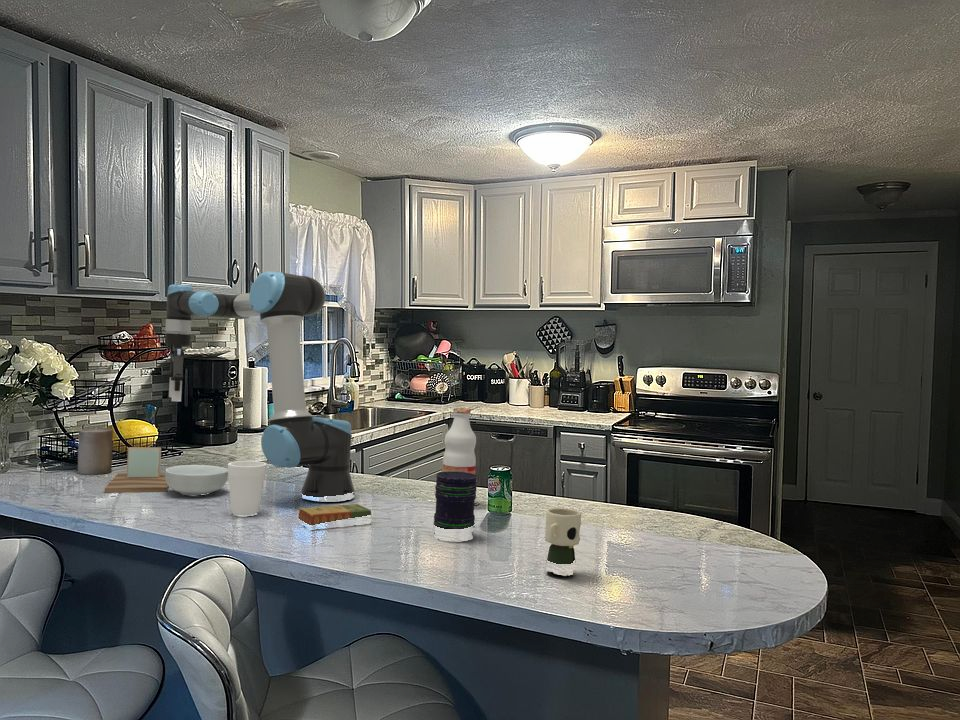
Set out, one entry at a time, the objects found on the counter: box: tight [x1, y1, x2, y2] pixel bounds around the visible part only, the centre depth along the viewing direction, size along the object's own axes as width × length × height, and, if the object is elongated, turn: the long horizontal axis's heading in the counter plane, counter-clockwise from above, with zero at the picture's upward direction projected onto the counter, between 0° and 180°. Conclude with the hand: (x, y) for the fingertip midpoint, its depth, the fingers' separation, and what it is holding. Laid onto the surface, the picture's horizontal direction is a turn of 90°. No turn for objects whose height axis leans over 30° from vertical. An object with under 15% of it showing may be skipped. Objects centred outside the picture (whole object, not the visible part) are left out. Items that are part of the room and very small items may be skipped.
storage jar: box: [433, 471, 477, 529], centre depth 171 cm, size 10×10×15 cm
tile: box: [126, 446, 162, 478], centre depth 217 cm, size 2×9×9 cm, turn 109°
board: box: [104, 472, 170, 494], centre depth 213 cm, size 24×16×1 cm, turn 19°
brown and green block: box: [298, 503, 372, 525], centre depth 178 cm, size 8×16×4 cm, turn 125°
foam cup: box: [227, 460, 268, 515], centre depth 183 cm, size 10×9×13 cm
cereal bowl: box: [164, 464, 229, 496], centre depth 204 cm, size 17×17×7 cm
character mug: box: [544, 507, 582, 564], centre depth 146 cm, size 11×7×13 cm, turn 148°
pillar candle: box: [77, 425, 114, 476], centre depth 227 cm, size 10×10×15 cm
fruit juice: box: [442, 407, 477, 475], centre depth 205 cm, size 9×9×28 cm
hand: (174, 399), depth 229 cm, fingers open, 13 cm apart
